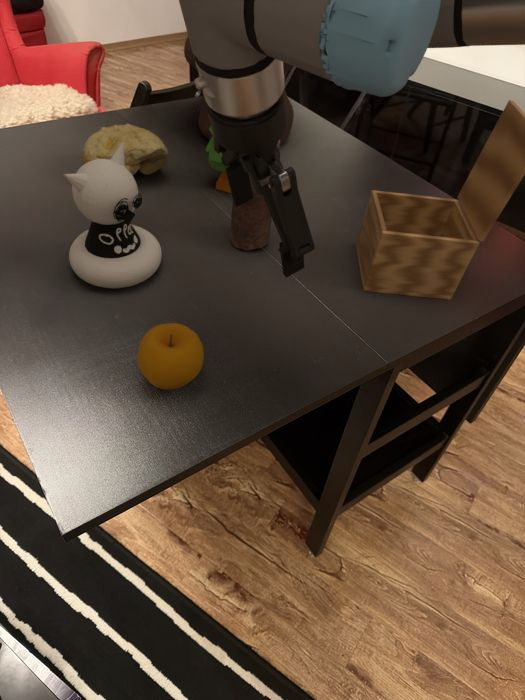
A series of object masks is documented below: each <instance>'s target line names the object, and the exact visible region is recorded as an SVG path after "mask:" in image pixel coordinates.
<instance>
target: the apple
mask: <svg viewBox="0 0 525 700" xmlns="http://www.w3.org/2000/svg"><path fill="white" fill-rule="evenodd" d="M204 350H205V349H204V346H203V343H202V341H201V339H200V337H199V335H198V334H197V333H196V332H195V331H194V330H192V328H190V327H188V326H187V325H184V324H182V323H179V322H168V323H167V322H166V323H161V324H157V325H155V326H153V327H151V328H150V329H149V330H148V331H147V332H146V333H145V334H144V336H143V337H142V339H141V341H140V343H139V346H138V350H137V355H136V362H137V366H138V368H139V370H140V372H141V374H142V375H143V376H144V378H145V379H146V381H148V382H149V384H151V385H153V386H154V387H156V388H158V389H161V390H165V391H168V390H175V389H180V388H182V387H184V386H187V385H188V384H190V382H192V381H193V380H195V378H197V376H198V375H199V374H200V372H201V370H202V368H203V363H204V360H205V352H204Z"/></svg>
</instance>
